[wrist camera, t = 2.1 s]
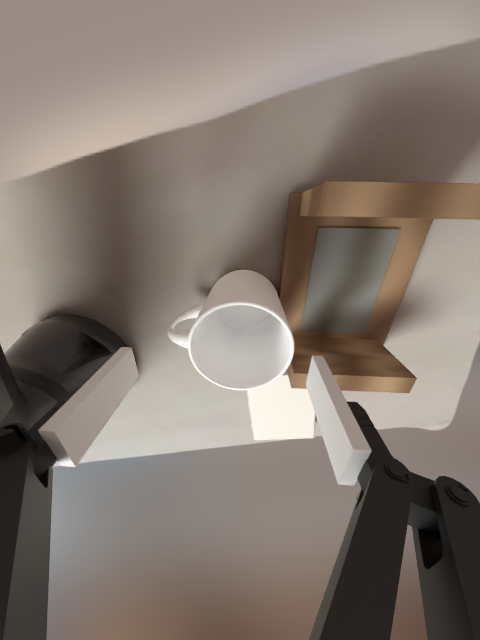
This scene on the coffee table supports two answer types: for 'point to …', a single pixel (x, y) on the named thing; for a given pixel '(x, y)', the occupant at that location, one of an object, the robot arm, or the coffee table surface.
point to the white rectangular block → (281, 411)
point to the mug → (238, 333)
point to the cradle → (358, 272)
